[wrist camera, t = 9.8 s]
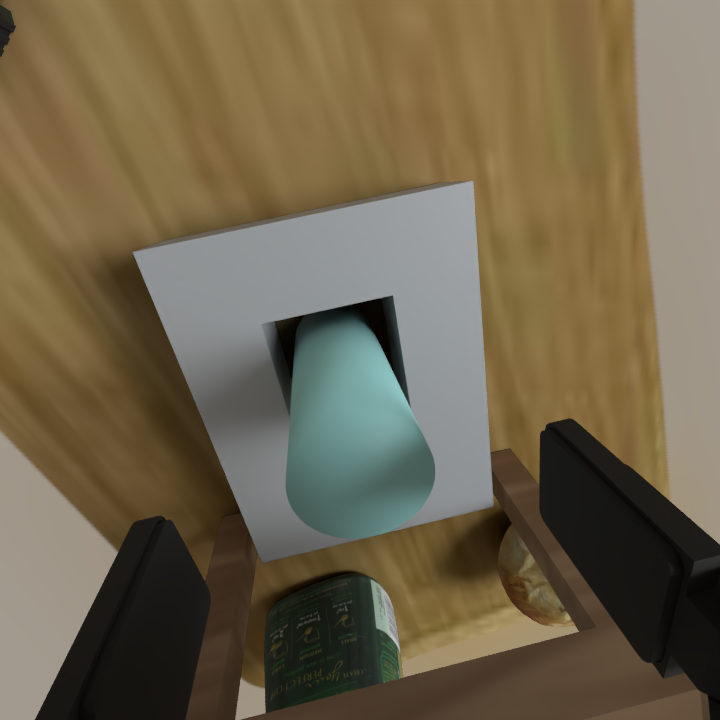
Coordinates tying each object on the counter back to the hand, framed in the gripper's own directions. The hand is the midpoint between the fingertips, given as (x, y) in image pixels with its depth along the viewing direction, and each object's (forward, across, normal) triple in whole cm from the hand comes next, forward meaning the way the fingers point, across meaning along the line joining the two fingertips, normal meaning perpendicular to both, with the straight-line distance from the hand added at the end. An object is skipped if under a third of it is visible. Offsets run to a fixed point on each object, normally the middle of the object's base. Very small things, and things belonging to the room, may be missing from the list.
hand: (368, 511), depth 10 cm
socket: (+13, 0, +3) cm, 14 cm away
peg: (+14, 0, +1) cm, 14 cm away
